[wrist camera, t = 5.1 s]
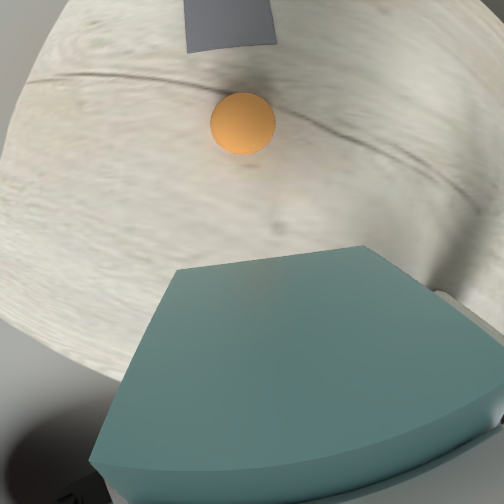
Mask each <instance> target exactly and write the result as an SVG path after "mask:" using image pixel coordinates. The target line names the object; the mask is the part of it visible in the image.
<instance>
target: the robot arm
mask: <svg viewBox="0 0 504 504" xmlns="http://www.w3.org/2000/svg"><path fill="white" fill-rule="evenodd" d="M52 504H129V503H128V502H127V501H126V500H125V499H124V498H123V497H122V496H121V495H120V494H119V493H118V492H117V491H116V490H115V489H114V488H113V487H112V486H111V485H110V484H109V483H108V482H107V481H106V480H105V479H104V478H103V477H102V476H101V474H100V473H99V472H98V471H95V472H93V473H91V474H89V475H87V476H85V477H83V478H81V479H79V480H77V481H75V482H73V483H71V484H69V485H67V486H65V487H63V488H61V489H59V490H58V491H57V492H56V493H55V494H54V495H53V498H52ZM298 504H504V414H503V416H502V418H501V420H500V421H499V423H498V425H497V426H496V427H495V428H493V429H491V430H489V431H487V432H485V433H484V434H482V435H480V436H478V437H476V438H475V439H473V440H471V441H469V442H468V443H466V444H464V445H462V446H460V447H458V448H457V449H455V450H453V451H451V452H449V453H447V454H445V455H443V456H441V457H439V458H437V459H435V460H433V461H431V462H429V463H426V464H424V465H422V466H420V467H417V468H415V469H413V470H410V471H408V472H406V473H403V474H401V475H398V476H395V477H393V478H390V479H387V480H385V481H382V482H379V483H376V484H373V485H370V486H367V487H364V488H361V489H357V490H354V491H350V492H347V493H343V494H339V495H335V496H331V497H327V498H323V499H318V500H314V501H309V502H303V503H298Z"/></svg>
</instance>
